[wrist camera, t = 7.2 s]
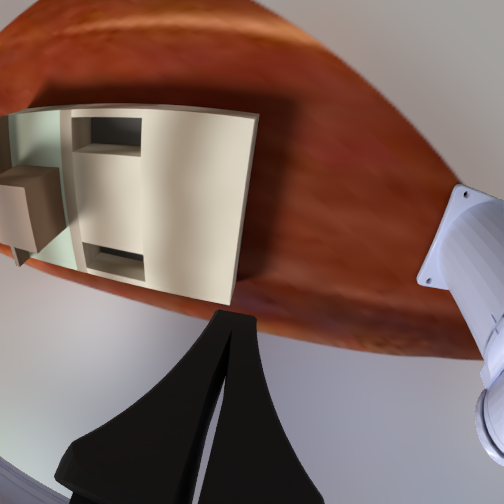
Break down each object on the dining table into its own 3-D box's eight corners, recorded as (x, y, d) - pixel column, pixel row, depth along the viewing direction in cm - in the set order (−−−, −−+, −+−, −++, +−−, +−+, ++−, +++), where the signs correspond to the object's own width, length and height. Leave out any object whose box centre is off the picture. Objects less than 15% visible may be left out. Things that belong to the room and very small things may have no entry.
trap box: (259, 114, 16) (250, 123, 13) (235, 282, 23) (225, 320, 19) (26, 108, 17) (-11, 120, 13) (42, 241, 23) (16, 265, 20)
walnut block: (59, 167, 17) (24, 187, 14) (66, 227, 19) (37, 253, 16) (17, 164, 17) (-16, 183, 14) (26, 219, 19) (-2, 242, 16)
